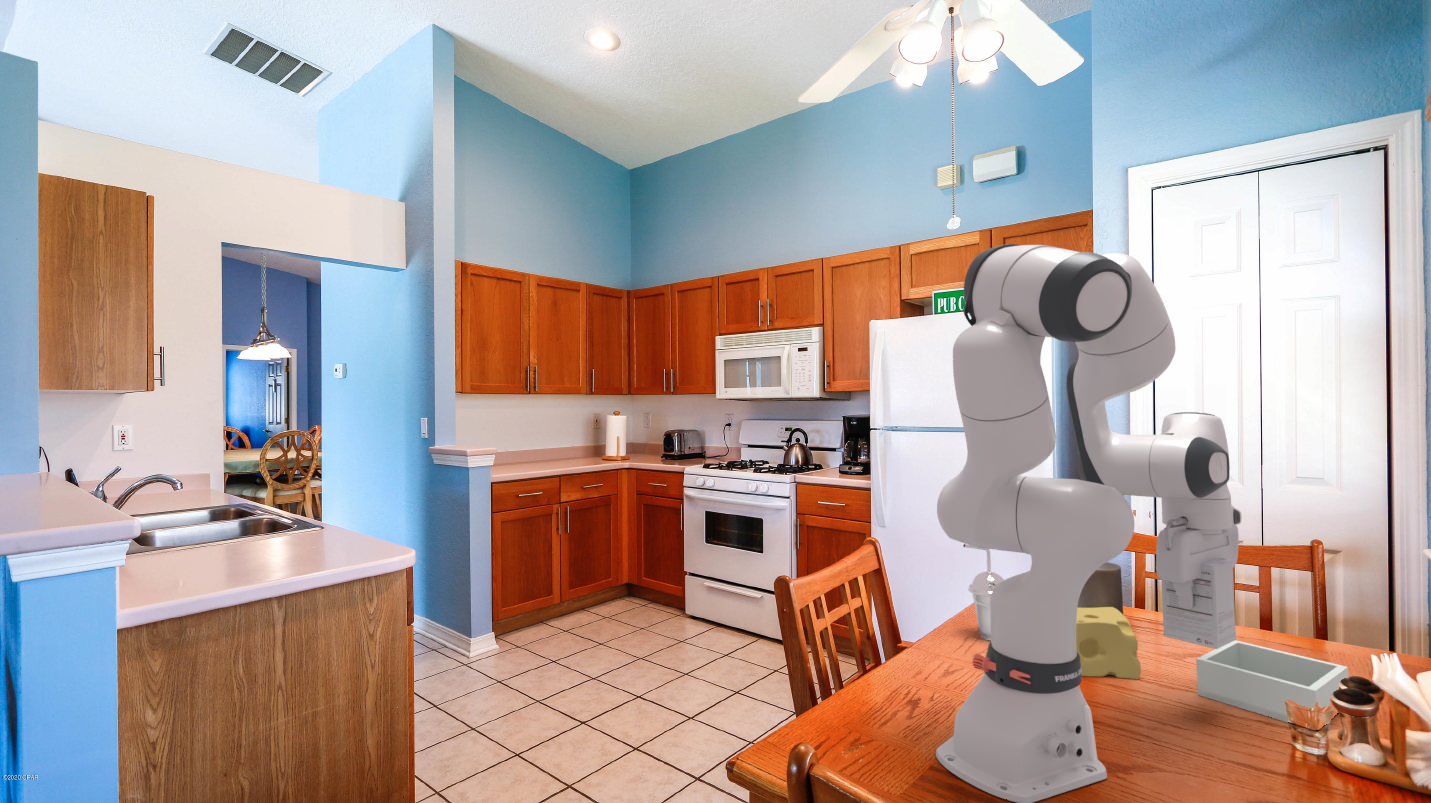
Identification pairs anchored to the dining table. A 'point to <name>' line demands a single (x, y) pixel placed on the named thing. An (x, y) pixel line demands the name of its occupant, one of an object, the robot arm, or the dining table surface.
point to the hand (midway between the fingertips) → (1199, 602)
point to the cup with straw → (984, 595)
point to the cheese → (1106, 643)
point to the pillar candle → (1103, 588)
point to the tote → (1266, 678)
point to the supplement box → (1203, 607)
